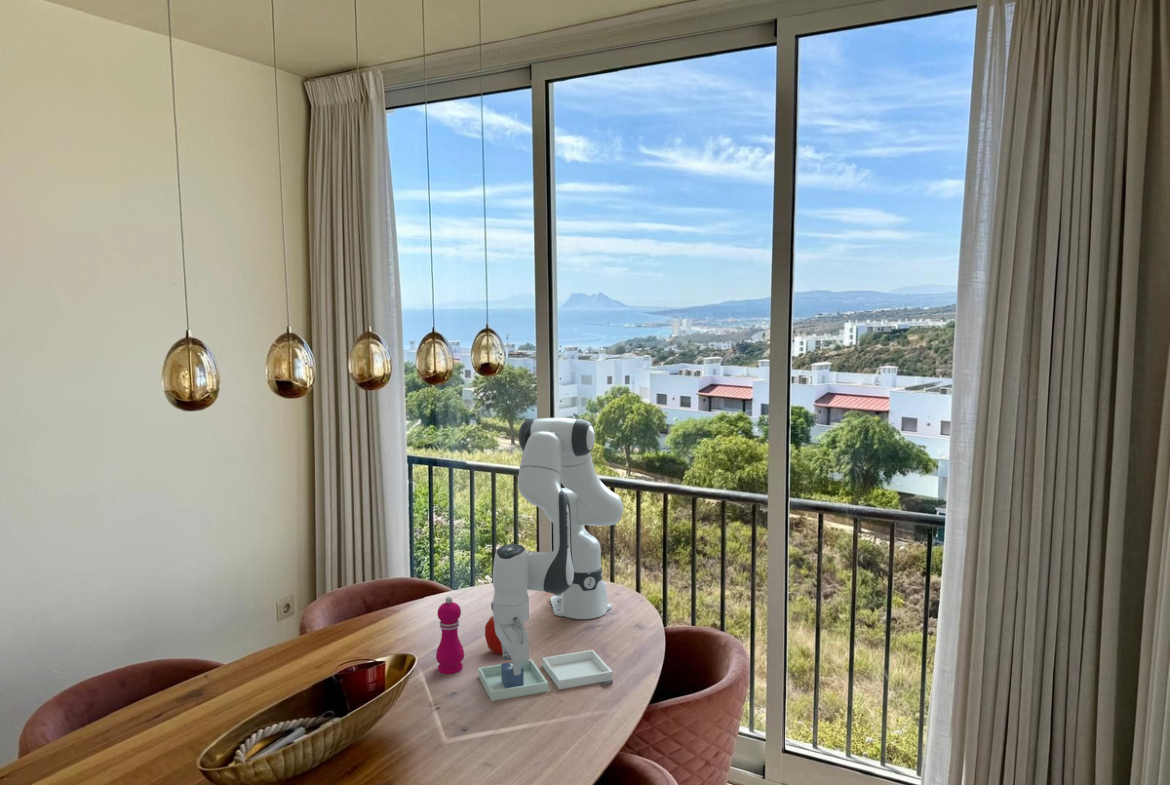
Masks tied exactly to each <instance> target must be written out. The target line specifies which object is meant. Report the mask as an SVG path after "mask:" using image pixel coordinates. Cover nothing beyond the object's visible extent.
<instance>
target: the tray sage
mask: <svg viewBox="0 0 1170 785" xmlns="http://www.w3.org/2000/svg"><path fill="white" fill-rule="evenodd" d="M501 664H502V663H499V664H494V665H493V664H492V665H488V666H482V667H481V666H480V667H478V668H477V672H478V676H477V677H478V679H479V680H480V683H481V684H482V686H483V688H484V690H485V692H486V694H487V696H488V698H489V699H490V702H494V701H501V700H506V699H513V698H518V697H524V696H530V695H531V696H532V695H536V694H541V693H542V694H543V693H548V692H549V682H548V680H547V679H546V678H545V676H544V674H543V673H542V672H541V670H540V669H539V667H538V666H537V664H536V663H535V662H534V660H533V659H528V661H527V662H522V667H523V673H524V686H518V687H512V688H505V686H504V685H503V683H502V677H501Z"/></svg>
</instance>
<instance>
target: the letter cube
mask: <svg viewBox="0 0 1170 785" xmlns="http://www.w3.org/2000/svg"><path fill="white" fill-rule="evenodd" d="M500 664H501V677H502V683H503V685H504V686H505V688H512V687H518V686H524V673H523V667H522V666H521V674H520V675H514V674H513V672H512V666H513V661H512V662H511V661H510V662H503V663H500Z"/></svg>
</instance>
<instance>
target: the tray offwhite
mask: <svg viewBox="0 0 1170 785" xmlns="http://www.w3.org/2000/svg"><path fill="white" fill-rule="evenodd" d="M541 659H542V660H541V662H542V663H541V667H542V668H543V669H544V671H545V672H546V674H547V675H548V676H549V678H550V679H551V680H552V681H553V684H555V686H556V688H558V690H565V689H570V688H576V687H582V686H588V685H594V684H598V685H599V686H604V685H610V684H613V683H614V671H613V670H612V669H611V668H610V667H609V666H608V665H607V664H606V662H604V660H603V659H602V657H600V655H598V654H597V653H596V651H595V650H593V649H589V650H584V651H578V652H571V653H570V652H569V653H565V654H557V655H552V656H546V657H542V658H541Z"/></svg>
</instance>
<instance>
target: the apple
mask: <svg viewBox="0 0 1170 785" xmlns="http://www.w3.org/2000/svg"><path fill="white" fill-rule="evenodd" d="M484 637H485V641H486V644H487V647H488V649H489V650H490V651H492V652H493V653H495V654H498V655H503V650H502V645H501V641H500V640H499V638H498V637H497V635H496V633H495V627H494V619H493V615H492V616H490V618H489V619H488V621H487V623H486V624H485V627H484Z"/></svg>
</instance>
